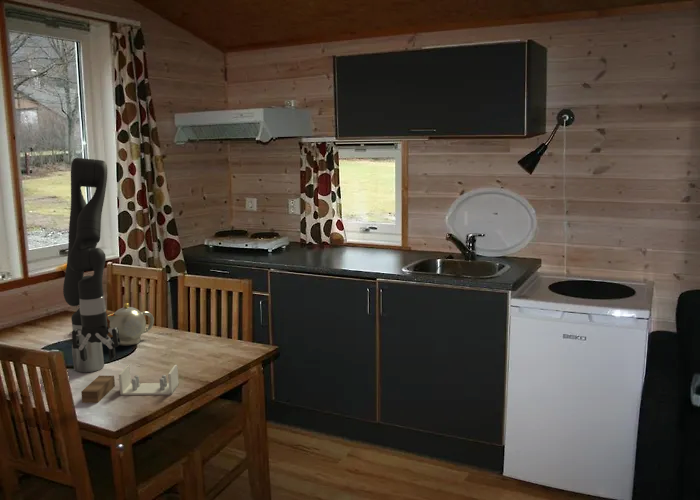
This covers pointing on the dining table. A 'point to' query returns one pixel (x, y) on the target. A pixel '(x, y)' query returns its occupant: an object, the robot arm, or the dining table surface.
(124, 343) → the teapot
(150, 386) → the shelf frame
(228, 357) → the dining table surface
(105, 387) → the brown rectangular block
